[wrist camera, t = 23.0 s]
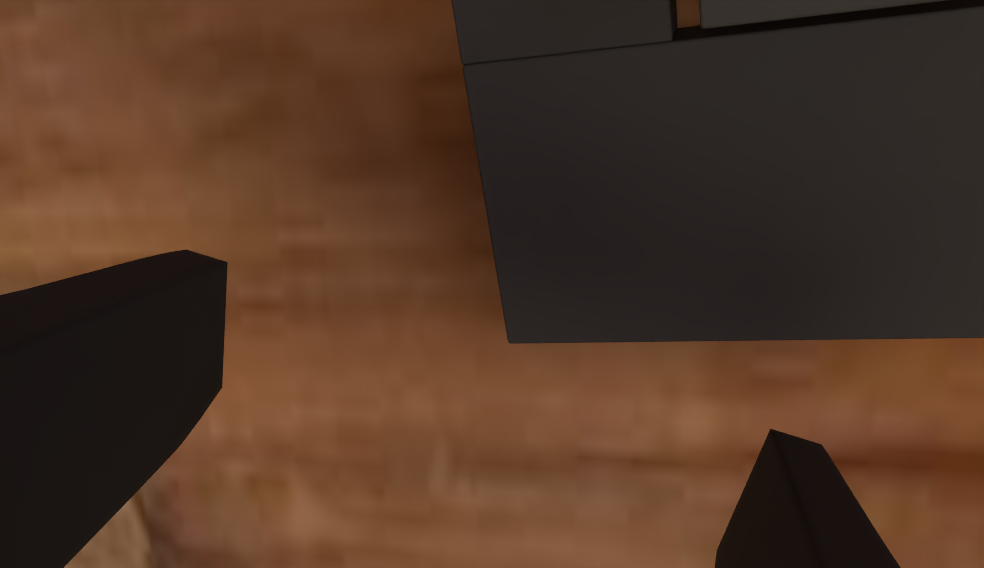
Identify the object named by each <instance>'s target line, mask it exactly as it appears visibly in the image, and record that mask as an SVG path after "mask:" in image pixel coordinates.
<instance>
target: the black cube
mask: <svg viewBox="0 0 984 568" xmlns="http://www.w3.org/2000/svg"><path fill="white" fill-rule="evenodd" d="M938 1H947V0H699V7H700V25H701V27H702V28H703V29H708V28H716V27H725V26H733V25H742V24H750V23H759V22H767V21H776V20H785V19H793V18H802V17H810V16H819V15H827V14H836V13H844V12H853V11H862V10H870V9H879V8H887V7H896V6H904V5H913V4H921V3H930V2H938Z"/></svg>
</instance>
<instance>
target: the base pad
mask: <svg viewBox="0 0 984 568" xmlns="http://www.w3.org/2000/svg"><path fill="white" fill-rule="evenodd" d="M451 1H452V7H453V13H454V19H455V25H456V31H457V37H458V43H459V49H460V56H461V62H462V64H465V65H464V66H463V73H464V79H465V85H466V91H467V97H468V103H469V109H470V115H471V121H472V127H473V133H474V139H475V145H476V151H477V157H478V163H479V169H480V175H481V181H482V187H483V193H484V199H485V205H486V211H487V217H488V223H489V229H490V236H491V242H492V248H493V254H494V260H495V266H496V272H497V278H498V284H499V290H500V296H501V302H502V308H503V314H504V320H505V326H506V332H507V338H508V342H509V343H584V342H668V341H753V340H837V339H921V338H984V0H947V1H938V2H930V3H921V4H913V5H904V6H896V7H887V8H879V9H870V10H862V11H853V12H844V13H836V14H827V15H819V16H810V17H802V18H793V19H785V20H776V21H767V22H759V23H750V24H742V25H733V26H725V27H716V28H708V29H703V28H702V27H701V26H697V27H688V28H680V29H676V28H677V14H676V0H451Z"/></svg>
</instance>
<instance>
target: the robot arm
mask: <svg viewBox="0 0 984 568" xmlns="http://www.w3.org/2000/svg"><path fill="white" fill-rule="evenodd" d="M226 284H227V262H225V261H222V260H218V259H215V258H212V257H209V256H205V255H202V254H199V253H196V252H192V251H189V250H181V251H175V252H169V253H164V254H159V255H155V256H151V257H146V258H142V259H138V260H134V261H131V262H127V263H123V264H119V265H115V266H112V267H108V268H104V269H100V270H97V271H93V272H89V273H85V274H82V275H78V276H74V277H70V278H67V279H63V280H59V281H55V282H52V283H48V284H44V285H40V286H36V287H33V288H29V289H25V290H21V291H16V292H12V293H8V294H3V295H0V568H64V567H65V565H66V564H67V563H68V562H69V561H70V560H71V559H72V558H73V557H74V556H75V555H76V554H77V553H78V552H79V551H80V550H81V549H82V548H83V547H84V546H85V545H86V544H87V543H88V542H89V541H90V540H91V539H92V538H93V536H94V535H95V534H96V533H97V532H98V531H99V530H100V529H101V528H102V527H103V526H104V525H105V524H106V523H107V522H108V521H109V520H110V519H111V518H112V517H113V516H114V515H115V514H116V513H117V512H118V511H119V510H120V509H121V507H122V506H123V505H124V504H125V503H126V502H127V501H128V500H129V499H130V498H131V497H132V496H133V495H134V494H135V493H136V492H137V491H138V490H139V489H140V488H141V487H142V486H143V485H144V484H145V483H146V481H147V480H148V479H149V478H150V477H151V476H152V475H153V474H154V473H155V472H156V471H157V470H158V469H159V468H160V467H161V466H162V465H163V463H164V462H165V461H166V460H167V459H168V458H169V457H170V456H171V455H172V454H173V453H174V452H175V451H176V449H177V448H178V447H179V446H180V445H181V444H182V443H183V441H184V440H185V439H186V437H187V436H188V435H189V433H190V432H191V431H192V429H193V428H194V426H195V425H196V424H197V422H198V421H199V420H200V418H201V417H202V416H203V414H204V413H205V411H206V410H207V408H208V407H209V405H210V404H211V403H212V401H213V400H214V398H215V397H216V395H217V394H218V392H219V391H220V390H221V388H222V377H223V354H224V330H225V307H226ZM715 568H900V566H899V565H898V563H897V562H896V560H895V559H894V557H893V556H892V554H891V553H890V551H889V550H888V548H887V547H886V545H885V544H884V542H883V541H882V539H881V537H880V536H879V534H878V533H877V531H876V530H875V528H874V527H873V525H872V523H871V522H870V520H869V519H868V517H867V515H866V514H865V512H864V511H863V509H862V508H861V506H860V504H859V503H858V501H857V500H856V498H855V496H854V495H853V493H852V492H851V490H850V488H849V487H848V485H847V483H846V482H845V480H844V479H843V477H842V475H841V474H840V472H839V471H838V469H837V467H836V466H835V464H834V463H833V461H832V460H831V458H830V456H829V455H828V453H827V452H826V450H825V449H824V447H823V446H822V445H821V444H818V443H815V442H812V441H808V440H805V439H802V438H799V437H795V436H792V435H789V434H786V433H782V432H779V431H776V430H773V429H770V431H769V433H768V436H767V438H766V440H765V442H764V445H763V447H762V449H761V452H760V454H759V456H758V458H757V461H756V463H755V465H754V467H753V470H752V472H751V474H750V476H749V479H748V481H747V483H746V486H745V488H744V490H743V492H742V495H741V497H740V499H739V501H738V504H737V506H736V508H735V511H734V513H733V515H732V517H731V520H730V522H729V524H728V526H727V529H726V531H725V533H724V536H723V538H722V540H721V542H720V545H719V547H718V549H717V554H716V562H715Z"/></svg>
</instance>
